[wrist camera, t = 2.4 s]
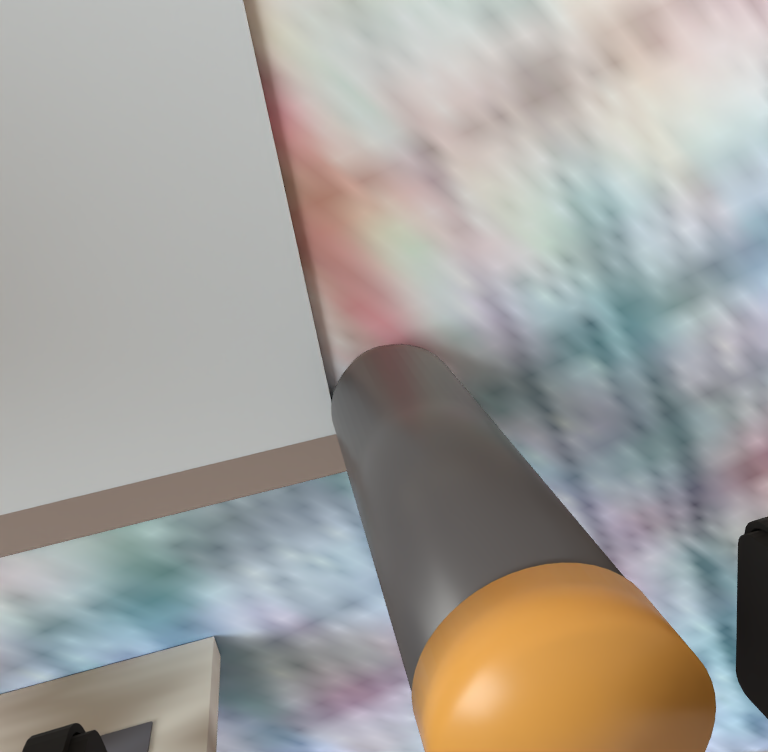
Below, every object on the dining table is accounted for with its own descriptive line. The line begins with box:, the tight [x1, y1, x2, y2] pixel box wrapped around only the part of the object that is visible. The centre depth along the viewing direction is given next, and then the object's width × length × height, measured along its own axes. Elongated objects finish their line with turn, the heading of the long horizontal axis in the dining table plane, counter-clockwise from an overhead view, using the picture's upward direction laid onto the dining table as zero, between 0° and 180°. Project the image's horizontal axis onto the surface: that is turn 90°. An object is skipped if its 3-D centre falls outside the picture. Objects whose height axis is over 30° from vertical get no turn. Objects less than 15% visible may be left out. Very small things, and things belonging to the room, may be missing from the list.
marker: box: [331, 344, 716, 752], centre depth 13 cm, size 4×4×12 cm
